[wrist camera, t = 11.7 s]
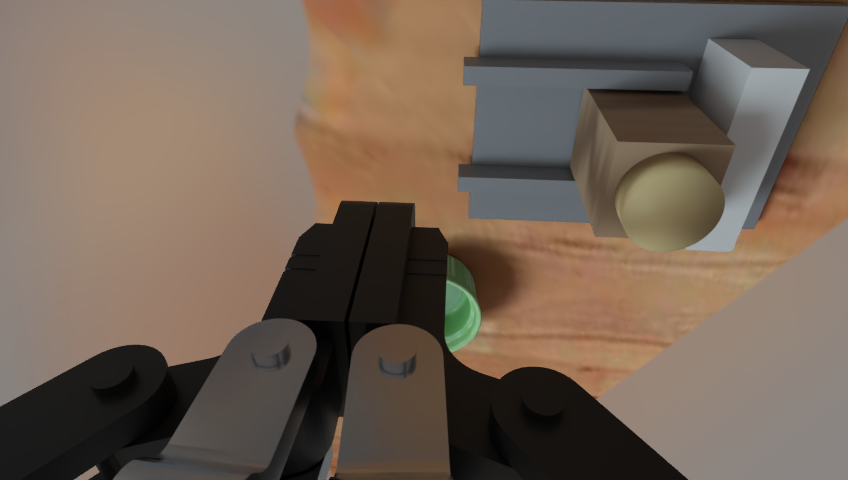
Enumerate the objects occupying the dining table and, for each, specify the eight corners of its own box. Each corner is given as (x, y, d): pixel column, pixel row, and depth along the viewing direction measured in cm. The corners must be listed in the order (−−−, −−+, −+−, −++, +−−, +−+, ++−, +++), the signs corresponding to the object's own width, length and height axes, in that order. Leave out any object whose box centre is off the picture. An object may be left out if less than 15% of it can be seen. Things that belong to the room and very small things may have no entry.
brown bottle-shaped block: (584, 84, 35) (627, 158, 26) (677, 86, 34) (754, 163, 25) (569, 166, 38) (602, 256, 29) (653, 169, 38) (713, 261, 29)
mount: (466, -4, 33) (467, 21, 27) (842, 3, 32) (925, 31, 26) (456, 210, 42) (455, 263, 37) (748, 222, 41) (794, 278, 36)
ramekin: (413, 333, 51) (410, 368, 47) (361, 268, 47) (352, 301, 43) (497, 300, 48) (500, 335, 44) (449, 228, 43) (447, 260, 40)
